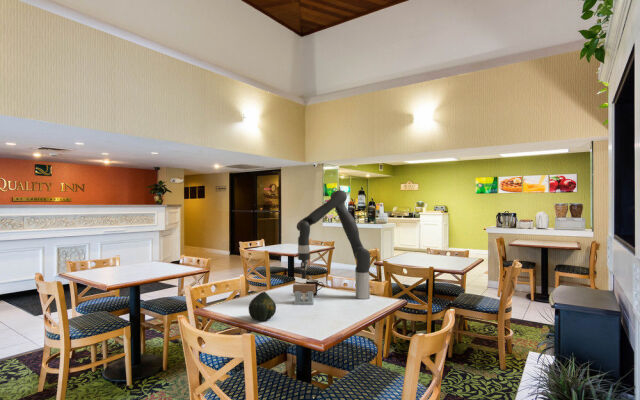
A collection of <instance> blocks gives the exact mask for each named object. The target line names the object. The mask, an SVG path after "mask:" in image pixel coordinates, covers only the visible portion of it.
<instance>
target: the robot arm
mask: <svg viewBox="0 0 640 400" xmlns="http://www.w3.org/2000/svg"><path fill="white" fill-rule="evenodd" d="M347 199H348V195H347V193H346V192H345V191H344V190H342V189H340V190H339V189H338V190H335V191H333V192H331V194H330V198H329V200H327V201H326V202H325V203H323V204H322V205H320V206H319V207H317V208H315V209H314V210H313V211H311V213H309V214H308V215H307V216H305V217H303V218H302V219H301V220H299V221H298V222H297V223H296V230H297V231H298V232H299V235H298V237H297V260H299V261H301V262H300V273H301V279H302V280H306V277H307V276H308V275H307V270H308V261H309V260H310V259H311V258H310V257H311V256H310V255H311V253H310V252H311V251H310V233H311V226H312V225H314V224H315V225H316V224H317V223H318V222H319V221H321V220H322V219H323V218H324V217H325V216H326V215H327V214H329V213H330V212H331V211H333V210H334V209H335V211H336V213H337V215H338V219H339V220H340V224H341V226H342V228H343V231H344V233H345V235H346V237H347V240H348V241H349V242H348V243H349V244H350V246H351V251H352V253H353V257H354V258H355V260H356V266H355V270H354V271H355V272H354V273H355V274H354V276H355V283H354V284H355V298H356V299H358V300H368V299H370V298H371V297H370V295H371V294H370V293H371V292H370V291H371V290H370V268H371V253H370V251H369V250H368V249H366V248H365V247H364V245H363V243H362V241H361V238H360V231H359V227H358V225H357V222H356V220H355V218H354V216H353V215H352V214H351V213H350V211H349V209H348V208H347V207H346V204H345V202H346V201H347Z"/></svg>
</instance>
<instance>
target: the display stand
mask: <svg viewBox="0 0 640 400" xmlns="http://www.w3.org/2000/svg"><path fill="white" fill-rule="evenodd" d="M314 303H315V298H314V296H313V292H308V294H307V293H300V291H295V293H294V302H293V304H294V306H295V305H296V306H313V305H314Z"/></svg>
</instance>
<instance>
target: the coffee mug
mask: <svg viewBox="0 0 640 400" xmlns="http://www.w3.org/2000/svg"><path fill="white" fill-rule="evenodd" d="M305 284H315V293H313V297H316V296H318V295H317V294H318V292H319V290H321V289H322V288H323V287H324V282H323V281H319V280H318V279H305ZM319 284H322V286H321V287H320V288H319V287H318V286H319ZM318 288H319V289H318ZM306 295H308V293H306Z"/></svg>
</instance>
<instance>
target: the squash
mask: <svg viewBox="0 0 640 400" xmlns="http://www.w3.org/2000/svg"><path fill="white" fill-rule="evenodd" d="M276 311H277V305H276V302H275V300H274V299H272V297H271V296H270V295H269V294H268V293H267V292H266V291H262V292H260V293H259V294H257V295H256V296H255V297H253V298H252V300H251V301H250V302H249V304H248V313H249V316H250V317H251V318H252V319H254V320H260V321H261V322H265V321H269V320H270V319H271V318H272V317H273V316H274V315H275V314H276Z"/></svg>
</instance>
